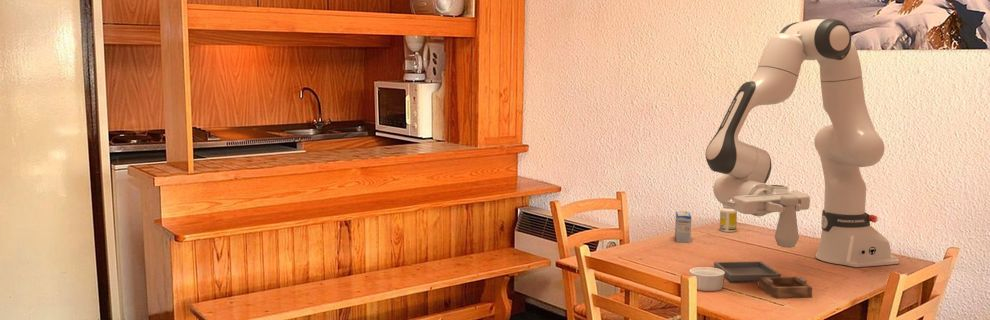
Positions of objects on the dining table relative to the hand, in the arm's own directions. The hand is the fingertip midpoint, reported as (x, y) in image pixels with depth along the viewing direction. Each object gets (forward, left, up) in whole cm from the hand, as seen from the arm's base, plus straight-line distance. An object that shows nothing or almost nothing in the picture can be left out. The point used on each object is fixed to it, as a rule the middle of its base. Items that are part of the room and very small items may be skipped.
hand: (791, 208), depth 216 cm
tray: (+4, -17, -22) cm, 28 cm away
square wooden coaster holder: (0, -1, -22) cm, 22 cm away
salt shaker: (0, -1, -10) cm, 10 cm away
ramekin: (+19, -7, -22) cm, 30 cm away
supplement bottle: (-10, -72, -22) cm, 76 cm away
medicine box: (+9, -60, -22) cm, 64 cm away
